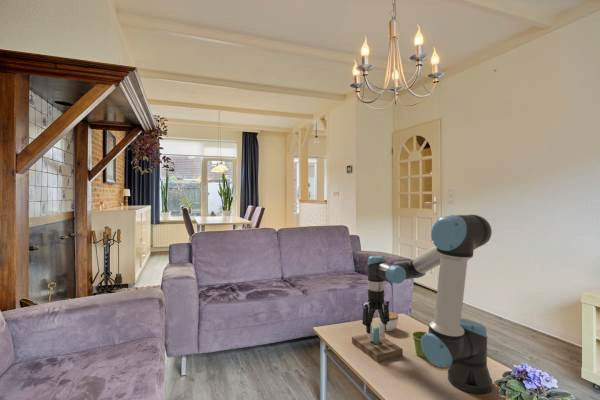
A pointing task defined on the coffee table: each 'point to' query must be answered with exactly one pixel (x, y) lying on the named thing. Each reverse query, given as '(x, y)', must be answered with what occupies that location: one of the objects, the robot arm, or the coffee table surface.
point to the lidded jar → (392, 323)
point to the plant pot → (418, 343)
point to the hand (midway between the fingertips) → (376, 338)
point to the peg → (376, 336)
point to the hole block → (377, 348)
